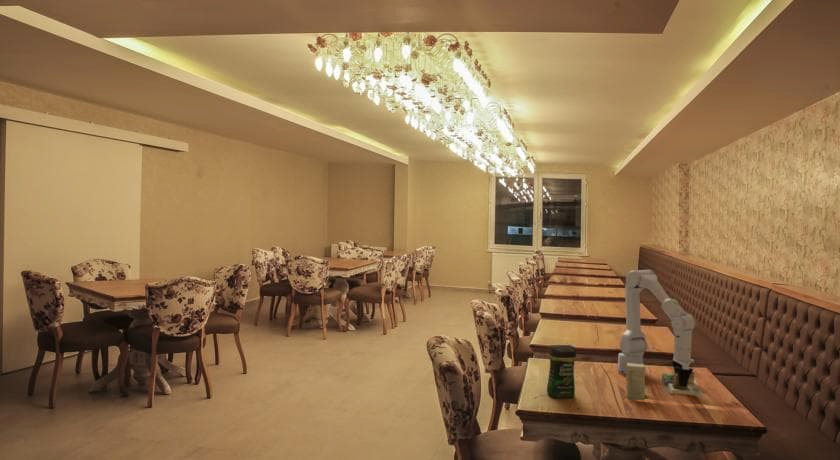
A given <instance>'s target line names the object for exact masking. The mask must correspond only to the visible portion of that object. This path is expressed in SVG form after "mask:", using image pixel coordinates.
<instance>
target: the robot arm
mask: <svg viewBox="0 0 840 460" xmlns="http://www.w3.org/2000/svg"><path fill="white" fill-rule="evenodd" d="M624 286H625V287H624V296H625V297H624V298H625V320H626V323H625V325H626V326H625V327H626V328H625V329H626V330H625V331H624V332H623V333H622V334H621V336H620V337H621V339H620V343H619V348H620V350H621V352H619V353H618V356H617V357H618V358H617V359H618V360H617V363H618V364H617V369H616V370H617V372H618V374H621V375H627V363H635V364H643V361H644V359H643V357H644V354H645V352H646V351H647V350H648V342H647V339H646V334H645V333H644V332H643V331H642V330H641V329H642V327H641V326H642V325H641V304H640V303H641V300H640V299H641V298H640V293H641V292H642V291H643V290H644V289H648V290H649V291H650V292H651V293H652V295H654V296H655V297H656V299H657V300H658V301H659V302H660V303H661V309H662V310H663V311H664V313H665V314H666V316H668V318H669V319H670V320H671V322H670V325H671V327H672V329H673V335H674V339H673V340H674V341H673V344H674V345H673V358H672V360H671V361H670V362H671V364H672V366H673V370H674V373H678V378H679V385H680V386H682V387H686V386H687V383H688V379H689V376H690V375H691V373H692V372H693V371H694V369H693V368H690V364H691V363H695V360H694V359H693V358H691V357H692V356H691V355H692V340H693V339H692V335H693V330H694V329H695V328H696V324H697V323H696V322H697V321H696V319H695V317H694V315H692V314H690V313H687V312H686V311H685V310H684V309H683V308H682V306H681V305H680V304H679V302H678V301H677V299H675V298H670V297H669V295H668V294H667V292H666V291H665V289H664V288H663V287H662V285H661V284H660V282H659V281H658V276H657V275H656V274H655V272H654V271H653V270H651V269H640V270H637V269H636V270H635V269H632V270H630V271H628V272H627V273H626V275H625V285H624Z"/></svg>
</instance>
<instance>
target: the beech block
mask: <svg viewBox="0 0 840 460" xmlns="http://www.w3.org/2000/svg"><path fill="white" fill-rule="evenodd" d="M694 380H695V370H693V372H692V373H691V375H690V376H689V379H688V384H690V385H694Z"/></svg>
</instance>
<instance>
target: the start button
mask: <svg viewBox="0 0 840 460" xmlns="http://www.w3.org/2000/svg"><path fill="white" fill-rule="evenodd" d="M673 374H674V373H666V377H674V375H673Z"/></svg>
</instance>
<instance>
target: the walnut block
mask: <svg viewBox="0 0 840 460" xmlns="http://www.w3.org/2000/svg"><path fill="white" fill-rule="evenodd" d="M673 374H674V387H673V388H674V389H678V390H687V386H688V383H687V386H686V387H682V386H680V385H679V378H678V373H675V372H674V373H673Z"/></svg>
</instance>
